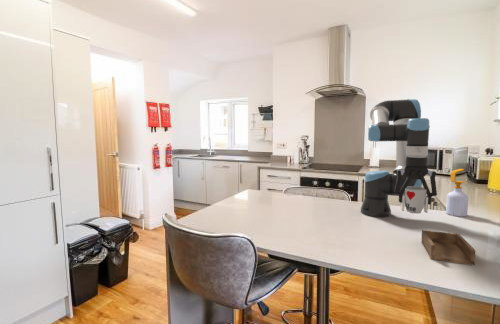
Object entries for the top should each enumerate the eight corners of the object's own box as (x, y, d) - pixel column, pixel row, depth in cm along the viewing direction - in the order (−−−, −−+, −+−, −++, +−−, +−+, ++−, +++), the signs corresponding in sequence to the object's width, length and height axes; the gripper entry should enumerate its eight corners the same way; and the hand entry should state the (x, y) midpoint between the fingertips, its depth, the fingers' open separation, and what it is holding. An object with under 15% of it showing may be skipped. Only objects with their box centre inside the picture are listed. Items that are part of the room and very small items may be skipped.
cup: (398, 209, 116) (399, 186, 115) (416, 208, 117) (417, 185, 116) (411, 215, 108) (412, 190, 107) (430, 214, 109) (431, 189, 108)
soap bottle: (471, 217, 139) (474, 170, 137) (451, 216, 141) (453, 169, 139) (461, 212, 148) (464, 168, 146) (442, 211, 150) (445, 167, 148)
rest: (430, 259, 92) (431, 244, 91) (421, 242, 107) (422, 230, 106) (474, 265, 87) (475, 250, 87) (458, 246, 102) (459, 233, 102)
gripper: (389, 156, 110) (387, 211, 113) (449, 157, 103) (446, 216, 105) (387, 155, 117) (385, 206, 120) (444, 156, 109) (440, 210, 112)
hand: (413, 211), depth 112 cm, fingers closed on cup, 8 cm apart
